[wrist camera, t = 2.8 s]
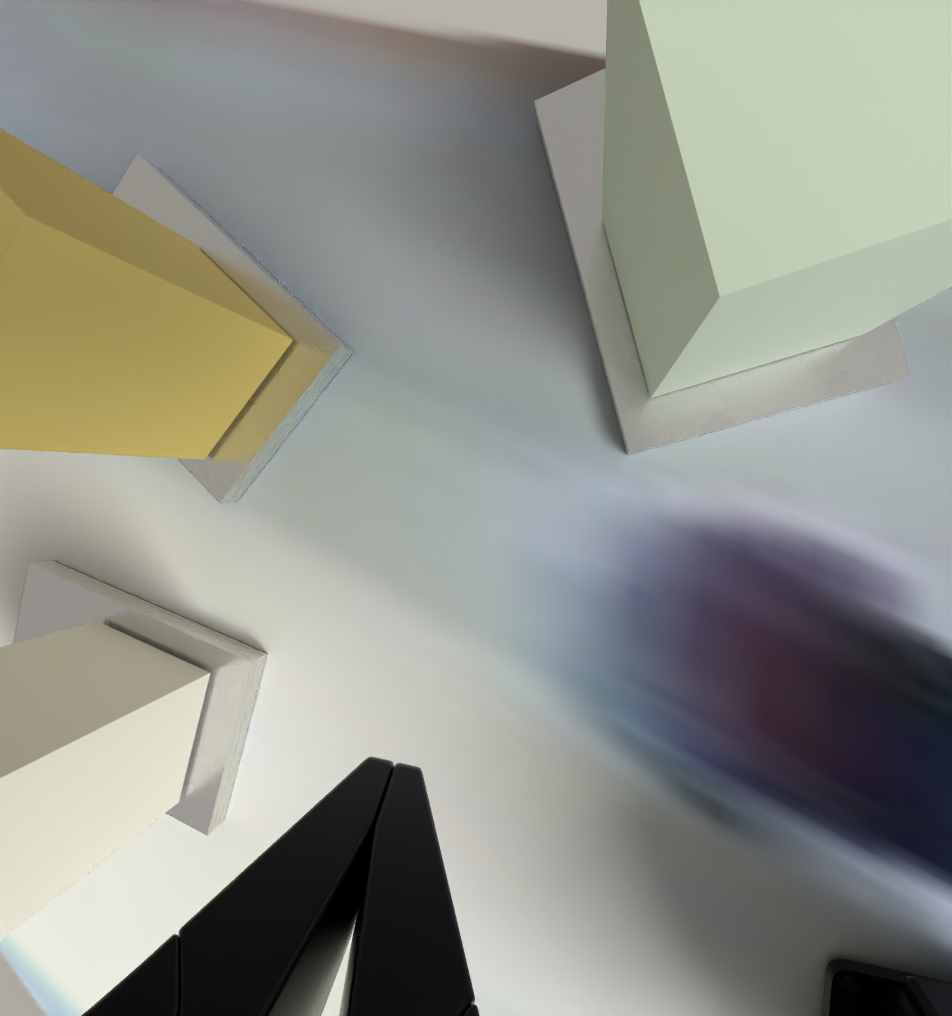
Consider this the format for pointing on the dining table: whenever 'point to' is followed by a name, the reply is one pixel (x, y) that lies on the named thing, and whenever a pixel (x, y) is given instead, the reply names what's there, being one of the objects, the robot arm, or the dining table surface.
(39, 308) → the mustard block
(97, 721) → the cream block
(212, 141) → the dining table surface
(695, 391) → the track plates
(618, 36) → the sage block
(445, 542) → the dining table surface
